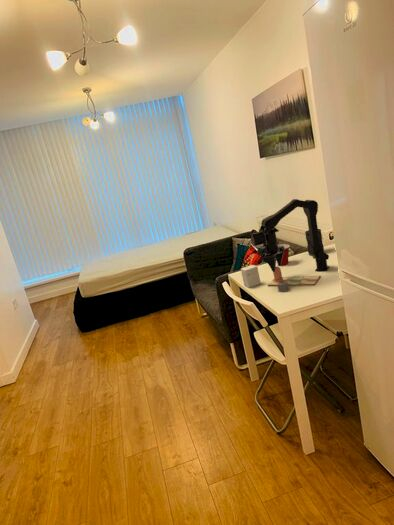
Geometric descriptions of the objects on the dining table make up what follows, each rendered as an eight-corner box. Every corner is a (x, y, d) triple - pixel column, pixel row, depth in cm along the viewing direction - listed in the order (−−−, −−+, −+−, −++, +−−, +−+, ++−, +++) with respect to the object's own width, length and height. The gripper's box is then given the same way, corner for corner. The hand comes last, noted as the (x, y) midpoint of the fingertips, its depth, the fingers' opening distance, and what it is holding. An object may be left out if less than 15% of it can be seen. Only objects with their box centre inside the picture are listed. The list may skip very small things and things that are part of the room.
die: (281, 289, 202) (280, 281, 201) (288, 288, 200) (287, 281, 199) (278, 292, 199) (277, 284, 198) (286, 291, 197) (284, 284, 196)
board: (275, 278, 220) (275, 277, 220) (320, 276, 206) (320, 275, 206) (267, 286, 210) (267, 285, 210) (314, 285, 196) (314, 283, 196)
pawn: (276, 279, 216) (273, 265, 214) (284, 279, 213) (281, 265, 211) (273, 282, 212) (270, 268, 210) (281, 282, 209) (278, 268, 207)
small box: (256, 281, 222) (252, 264, 220) (261, 283, 217) (257, 266, 215) (244, 286, 220) (240, 268, 217) (248, 288, 215) (245, 270, 212)
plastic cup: (293, 265, 236) (290, 246, 233) (275, 268, 238) (272, 249, 235) (292, 260, 246) (289, 242, 243) (275, 263, 248) (271, 245, 245)
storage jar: (308, 252, 254) (305, 230, 251) (324, 250, 251) (321, 227, 247) (308, 256, 245) (304, 234, 242) (324, 254, 242) (320, 231, 238)
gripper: (264, 237, 219) (269, 263, 223) (250, 247, 204) (256, 275, 208) (282, 236, 213) (287, 262, 217) (270, 246, 198) (276, 274, 202)
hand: (276, 268), depth 211 cm, fingers open, 9 cm apart
